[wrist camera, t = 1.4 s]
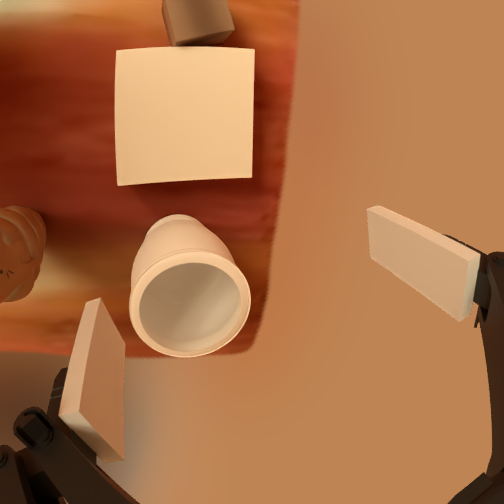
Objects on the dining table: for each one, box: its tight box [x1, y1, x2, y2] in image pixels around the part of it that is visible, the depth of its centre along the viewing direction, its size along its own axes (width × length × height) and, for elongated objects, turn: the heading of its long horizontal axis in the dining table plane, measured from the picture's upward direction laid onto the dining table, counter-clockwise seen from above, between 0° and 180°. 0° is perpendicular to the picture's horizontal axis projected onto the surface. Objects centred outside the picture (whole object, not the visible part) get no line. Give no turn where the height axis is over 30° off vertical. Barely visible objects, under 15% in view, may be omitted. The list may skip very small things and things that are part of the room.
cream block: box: [115, 47, 255, 186], centre depth 32 cm, size 14×14×5 cm
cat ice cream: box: [0, 205, 47, 303], centre depth 25 cm, size 9×8×18 cm
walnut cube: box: [162, 0, 235, 47], centre depth 27 cm, size 6×6×6 cm
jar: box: [129, 214, 251, 357], centre depth 33 cm, size 11×10×15 cm
